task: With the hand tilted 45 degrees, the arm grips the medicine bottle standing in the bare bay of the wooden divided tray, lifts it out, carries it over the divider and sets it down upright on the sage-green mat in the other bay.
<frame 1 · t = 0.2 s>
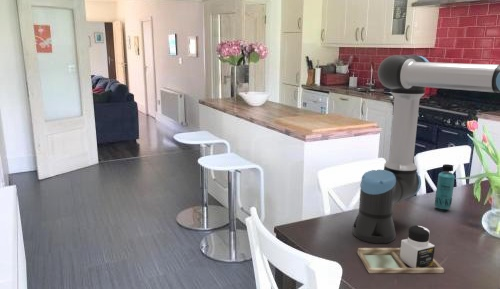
beverage bottle: (442, 210, 170), on the table
wooden divided tray: (398, 262, 127), on the table
medicine bottle: (415, 263, 127), resting in wooden divided tray
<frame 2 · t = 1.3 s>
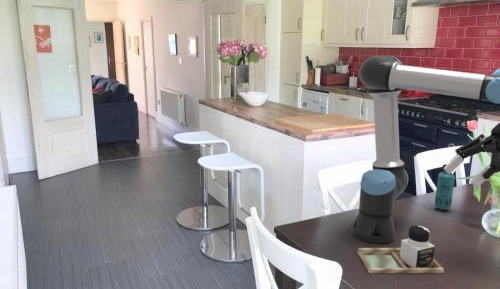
hand: (459, 177, 125), 27 cm above the table, tool tilted 45°, fingers open, 13 cm apart
nothing on the table moved.
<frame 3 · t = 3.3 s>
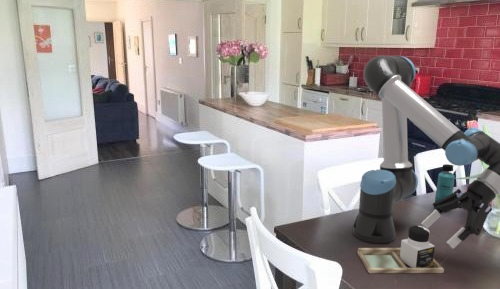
hand: (436, 235, 124), 10 cm above the table, tool tilted 45°, fingers open, 13 cm apart
nothing on the table moved.
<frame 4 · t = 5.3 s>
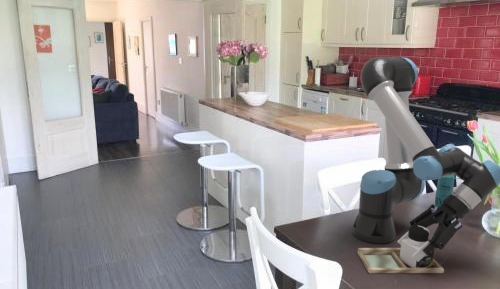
hand: (407, 251, 126), 4 cm above the table, tool tilted 45°, fingers closed on medicine bottle, 8 cm apart
medicine bottle: (415, 263, 127), resting in wooden divided tray, touching gripper
everything else where it was.
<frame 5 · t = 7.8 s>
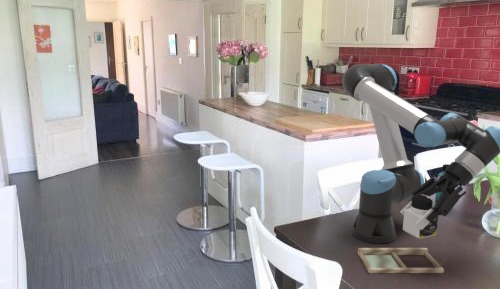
hand: (410, 220, 124), 15 cm above the table, tool tilted 45°, fingers closed on medicine bottle, 8 cm apart
medicine bottle: (419, 233, 125), point 10 cm above the table, touching gripper
everything else where it was.
when the fingers open (6 cm above the table, at t = 10.6 s): medicine bottle drops 1 cm, resting on wooden divided tray.
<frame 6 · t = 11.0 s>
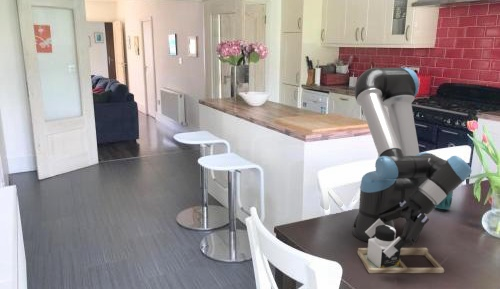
hand: (376, 244, 125), 7 cm above the table, tool tilted 45°, fingers open, 13 cm apart
medicine bottle: (382, 262, 127), resting on wooden divided tray
everything else where it was.
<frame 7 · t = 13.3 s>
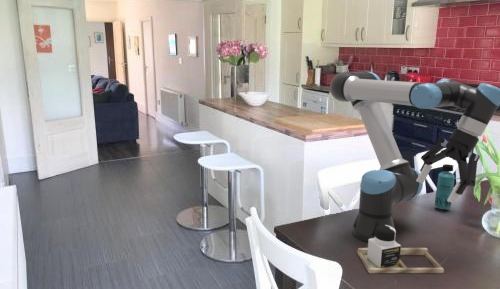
hand: (434, 191, 129), 22 cm above the table, tool tilted 20°, fingers open, 13 cm apart
nothing on the table moved.
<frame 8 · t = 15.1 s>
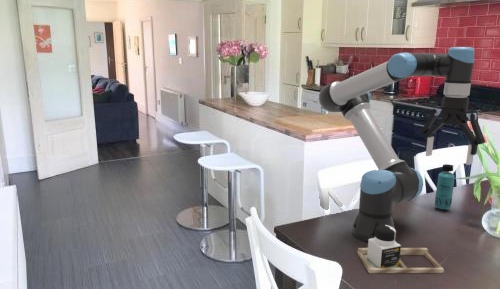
hand: (448, 159, 133), 31 cm above the table, tool pointing down, fingers open, 13 cm apart
nothing on the table moved.
at the end: medicine bottle 0.2 cm from the target spot, resting on wooden divided tray; medicine bottle tilted 0°; the gripper is holding nothing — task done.
